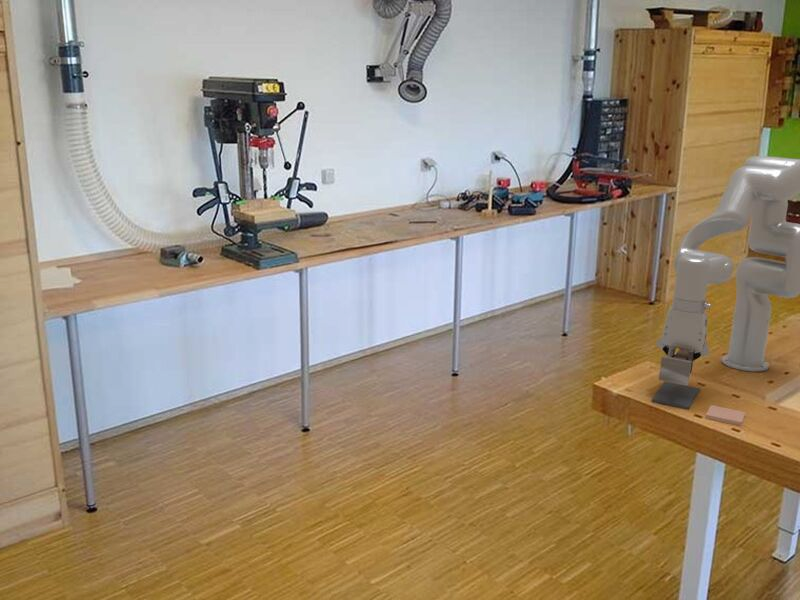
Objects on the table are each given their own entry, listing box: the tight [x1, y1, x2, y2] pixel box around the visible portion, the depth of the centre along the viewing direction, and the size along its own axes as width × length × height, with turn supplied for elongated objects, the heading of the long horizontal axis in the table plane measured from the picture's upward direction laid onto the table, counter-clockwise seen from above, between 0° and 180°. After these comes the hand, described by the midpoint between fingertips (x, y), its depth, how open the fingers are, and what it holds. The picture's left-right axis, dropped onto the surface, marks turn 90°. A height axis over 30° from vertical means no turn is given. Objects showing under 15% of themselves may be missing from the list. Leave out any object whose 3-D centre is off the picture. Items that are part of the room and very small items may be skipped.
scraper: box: [658, 348, 692, 386], centre depth 200 cm, size 13×7×6 cm, turn 150°
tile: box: [705, 404, 746, 427], centre depth 190 cm, size 2×8×7 cm
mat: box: [651, 381, 701, 410], centre depth 202 cm, size 15×9×1 cm, turn 150°
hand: (679, 373), depth 201 cm, fingers closed on scraper, 3 cm apart
